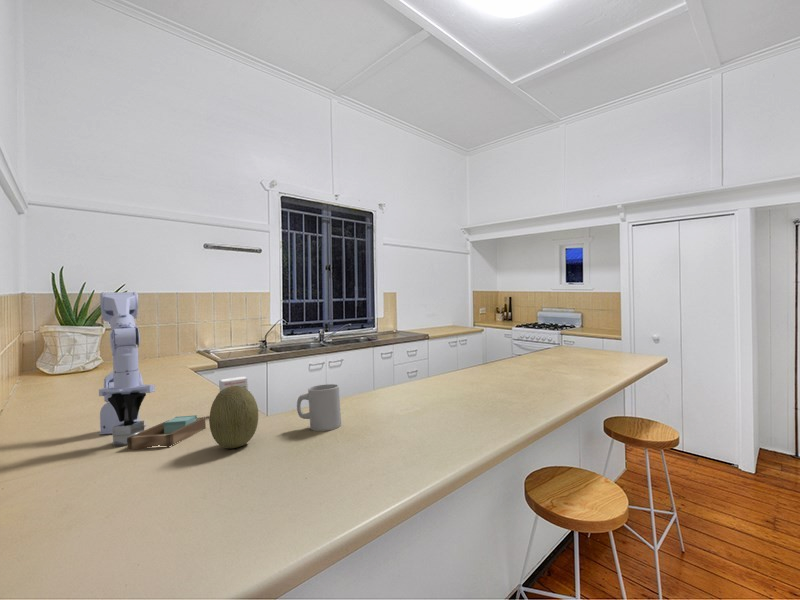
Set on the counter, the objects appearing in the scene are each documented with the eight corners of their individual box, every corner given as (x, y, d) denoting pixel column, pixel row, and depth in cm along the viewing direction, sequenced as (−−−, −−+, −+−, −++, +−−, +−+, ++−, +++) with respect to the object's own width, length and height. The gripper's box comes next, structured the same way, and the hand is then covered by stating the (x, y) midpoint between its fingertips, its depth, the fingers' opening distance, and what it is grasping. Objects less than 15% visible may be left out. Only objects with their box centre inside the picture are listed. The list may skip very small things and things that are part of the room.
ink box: (222, 416, 124) (220, 381, 125) (220, 413, 128) (218, 379, 129) (249, 411, 129) (247, 377, 130) (246, 408, 133) (244, 375, 134)
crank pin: (121, 427, 102) (121, 407, 102) (128, 425, 104) (128, 405, 104) (129, 427, 101) (128, 406, 102) (135, 424, 104) (135, 404, 104)
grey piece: (106, 447, 99) (105, 428, 99) (126, 438, 106) (126, 420, 106) (131, 445, 99) (131, 426, 99) (150, 437, 106) (149, 419, 106)
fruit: (212, 444, 95) (209, 385, 96) (259, 435, 100) (255, 379, 100) (208, 458, 85) (205, 392, 85) (261, 448, 89) (257, 385, 90)
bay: (127, 449, 96) (127, 437, 96) (168, 430, 112) (168, 420, 112) (170, 447, 95) (170, 435, 95) (205, 428, 111) (205, 417, 111)
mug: (343, 421, 108) (341, 383, 108) (339, 430, 99) (336, 389, 100) (302, 424, 108) (299, 386, 108) (294, 433, 99) (291, 392, 100)
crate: (163, 437, 105) (163, 422, 105) (176, 430, 112) (176, 416, 112) (185, 435, 105) (185, 421, 106) (197, 428, 112) (196, 415, 112)
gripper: (88, 375, 99) (90, 426, 99) (141, 371, 99) (143, 422, 98) (110, 371, 106) (111, 418, 106) (159, 367, 106) (161, 415, 105)
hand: (128, 420), depth 103 cm, fingers closed on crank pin, 2 cm apart
